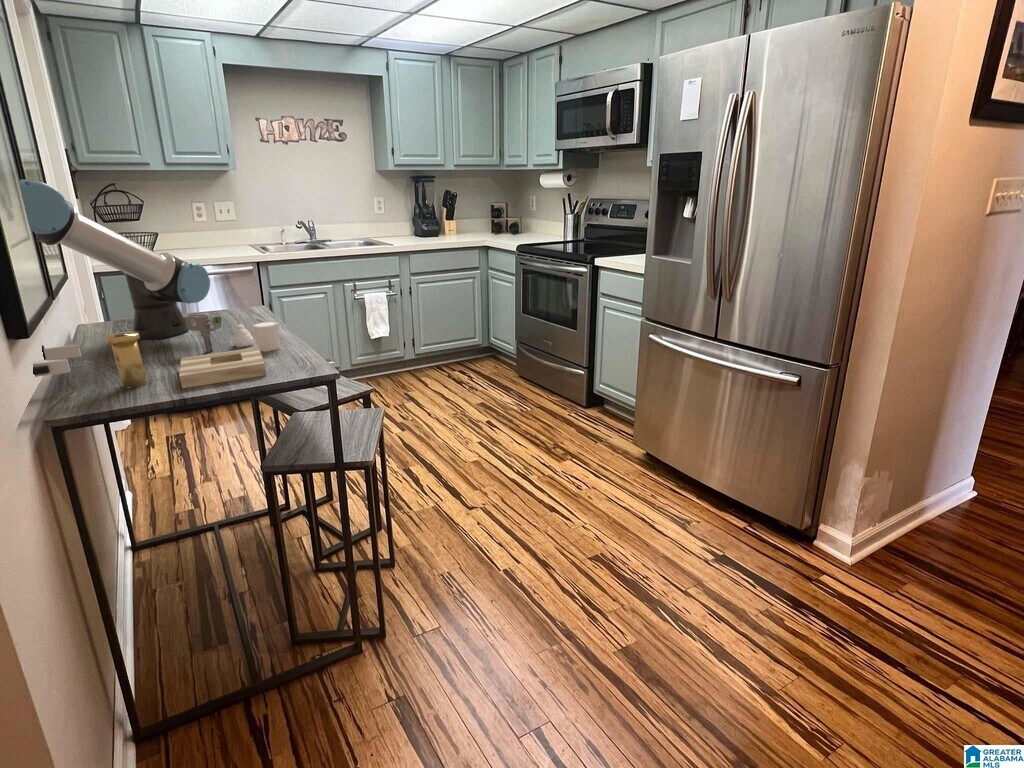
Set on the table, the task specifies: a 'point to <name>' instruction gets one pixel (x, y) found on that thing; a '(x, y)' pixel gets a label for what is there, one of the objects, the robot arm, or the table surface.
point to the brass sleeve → (128, 358)
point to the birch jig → (221, 367)
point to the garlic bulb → (242, 337)
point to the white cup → (267, 335)
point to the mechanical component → (203, 327)
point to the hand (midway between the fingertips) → (74, 357)
